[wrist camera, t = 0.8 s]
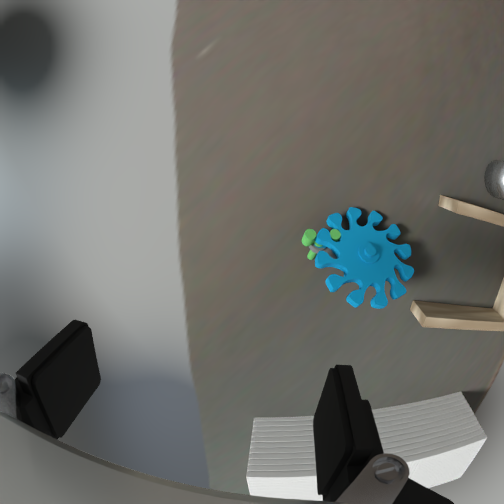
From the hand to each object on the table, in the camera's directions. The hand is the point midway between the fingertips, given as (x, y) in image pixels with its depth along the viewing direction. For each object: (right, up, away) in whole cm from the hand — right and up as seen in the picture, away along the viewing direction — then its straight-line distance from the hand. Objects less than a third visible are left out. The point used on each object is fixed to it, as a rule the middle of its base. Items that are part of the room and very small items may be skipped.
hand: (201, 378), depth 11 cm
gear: (+12, +6, +20) cm, 24 cm away
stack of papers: (+19, -23, +28) cm, 41 cm away
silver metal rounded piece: (+30, +13, +16) cm, 36 cm away
